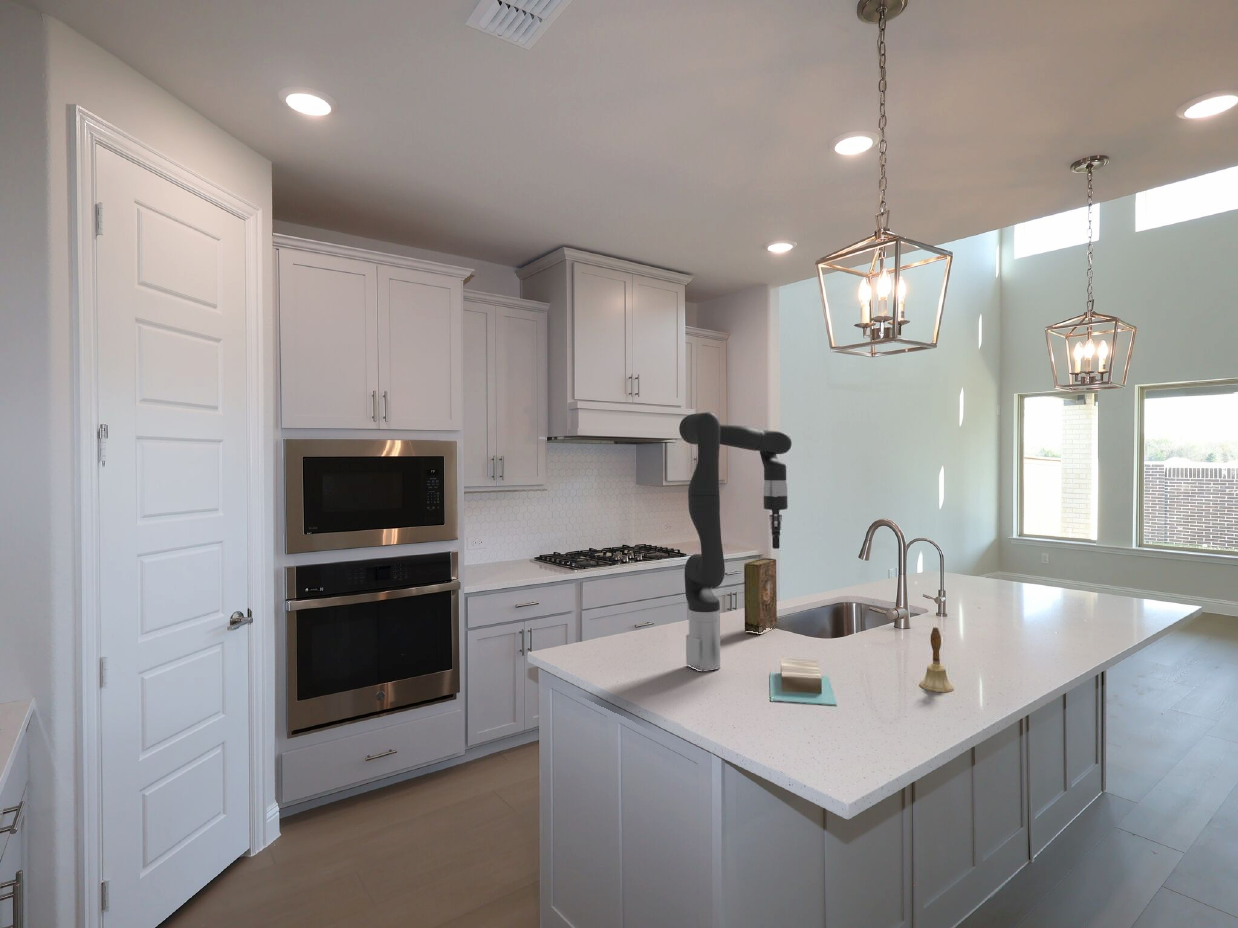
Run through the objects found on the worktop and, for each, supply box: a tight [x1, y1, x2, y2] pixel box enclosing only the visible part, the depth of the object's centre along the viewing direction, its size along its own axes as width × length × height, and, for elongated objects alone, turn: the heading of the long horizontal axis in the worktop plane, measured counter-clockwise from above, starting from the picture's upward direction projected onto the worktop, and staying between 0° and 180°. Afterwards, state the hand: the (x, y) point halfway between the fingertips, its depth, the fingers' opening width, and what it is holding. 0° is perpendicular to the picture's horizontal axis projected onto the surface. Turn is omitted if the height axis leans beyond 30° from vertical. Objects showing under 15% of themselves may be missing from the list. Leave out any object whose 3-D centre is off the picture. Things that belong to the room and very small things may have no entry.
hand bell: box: [919, 626, 955, 693], centre depth 175 cm, size 8×8×16 cm
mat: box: [769, 672, 838, 707], centre depth 174 cm, size 22×16×1 cm
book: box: [743, 557, 778, 633], centre depth 237 cm, size 16×6×25 cm, turn 143°
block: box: [780, 657, 822, 694], centre depth 178 cm, size 4×10×16 cm
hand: (775, 548), depth 210 cm, fingers closed
